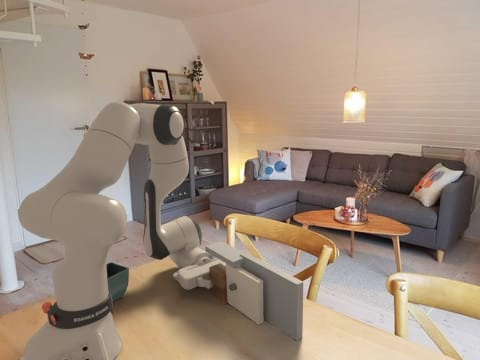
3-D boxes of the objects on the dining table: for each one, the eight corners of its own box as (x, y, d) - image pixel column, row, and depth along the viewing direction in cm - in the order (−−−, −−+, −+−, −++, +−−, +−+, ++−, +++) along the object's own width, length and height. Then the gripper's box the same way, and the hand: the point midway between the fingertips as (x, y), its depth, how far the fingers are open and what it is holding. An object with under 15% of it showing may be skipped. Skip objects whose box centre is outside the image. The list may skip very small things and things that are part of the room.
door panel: (254, 326, 95) (253, 284, 93) (223, 303, 106) (221, 264, 103) (263, 322, 97) (262, 280, 94) (231, 299, 108) (230, 261, 105)
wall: (285, 347, 88) (285, 290, 84) (207, 290, 114) (204, 244, 111) (302, 337, 91) (303, 281, 88) (223, 284, 118) (221, 239, 114)
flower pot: (89, 300, 110) (85, 272, 108) (114, 287, 117) (111, 261, 115) (107, 309, 105) (104, 280, 103) (132, 295, 112) (129, 268, 110)
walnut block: (223, 304, 106) (222, 275, 104) (210, 294, 112) (209, 267, 110) (235, 299, 109) (234, 271, 107) (221, 290, 114) (220, 263, 112)
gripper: (169, 264, 112) (192, 282, 101) (225, 246, 124) (251, 260, 113) (170, 283, 113) (194, 302, 103) (225, 264, 125) (251, 279, 115)
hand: (224, 280), depth 108 cm, fingers open, 8 cm apart
